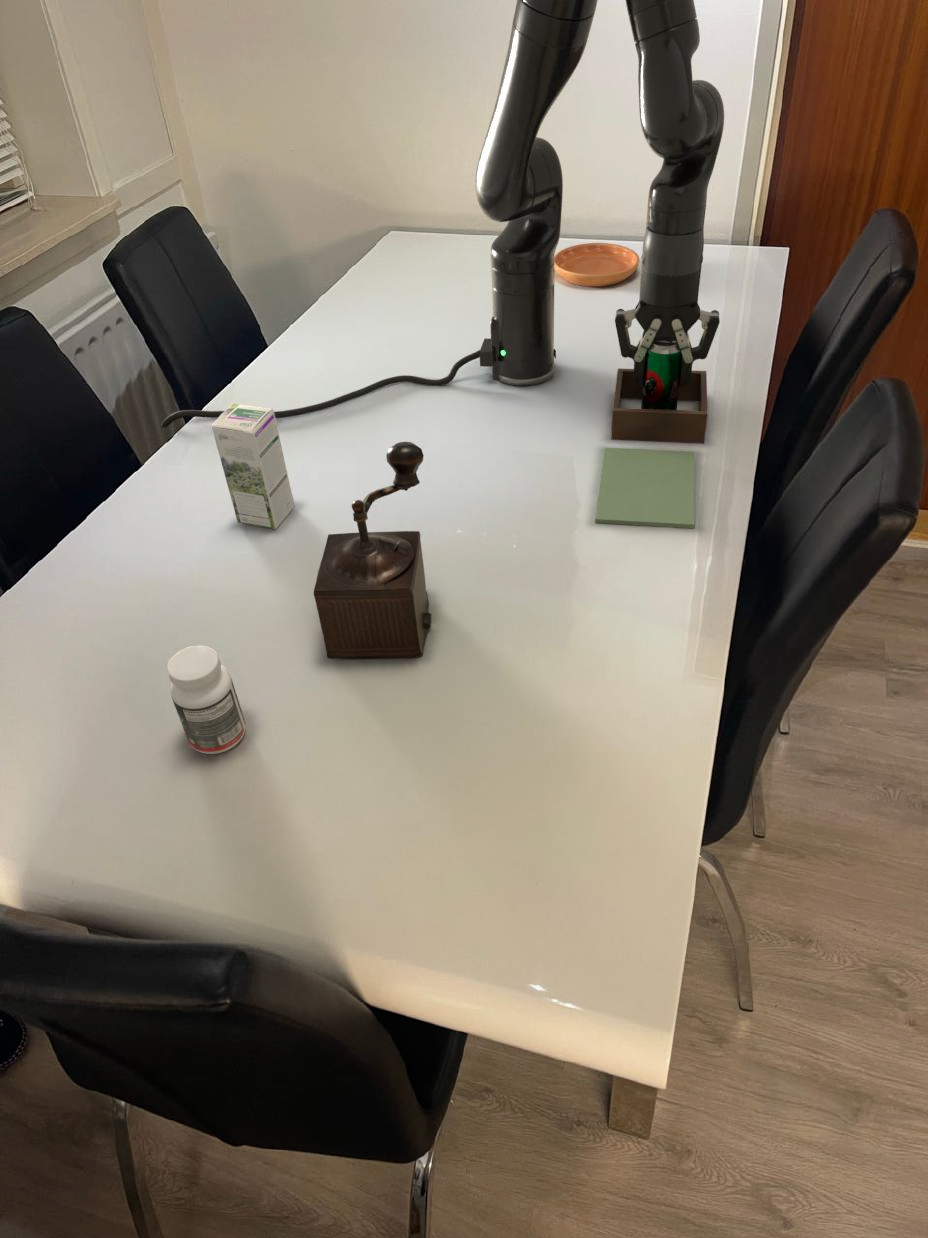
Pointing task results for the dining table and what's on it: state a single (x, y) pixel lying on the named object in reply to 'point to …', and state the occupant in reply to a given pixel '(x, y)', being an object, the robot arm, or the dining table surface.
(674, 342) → the soda can
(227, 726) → the pill bottle
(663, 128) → the robot arm
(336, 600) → the manual coffee grinder
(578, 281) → the saucer
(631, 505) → the mat
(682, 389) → the crate
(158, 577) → the dining table surface
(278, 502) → the syrup box
